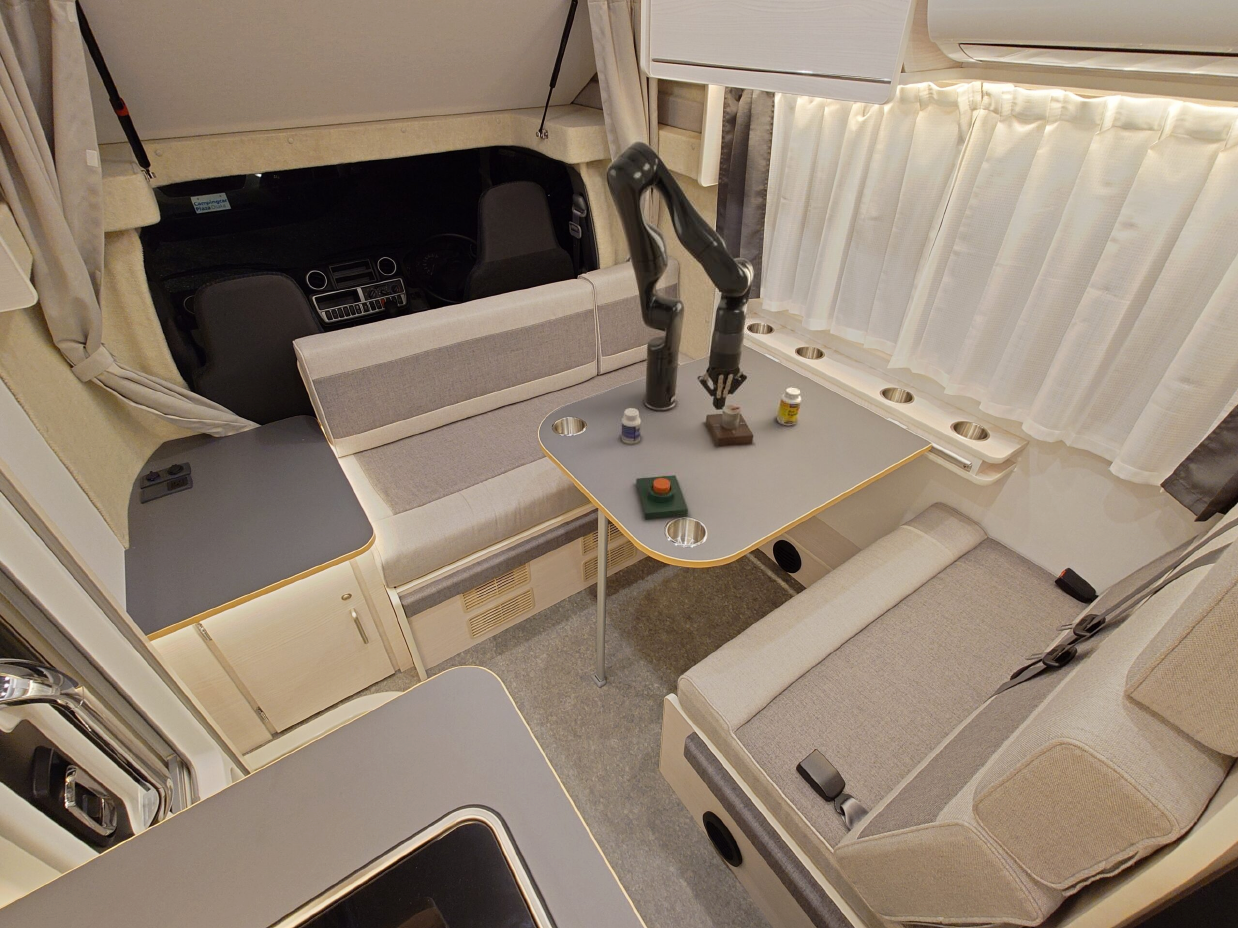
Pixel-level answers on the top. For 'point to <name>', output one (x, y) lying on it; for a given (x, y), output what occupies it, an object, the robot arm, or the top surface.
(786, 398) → the supplement bottle
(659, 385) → the robot arm
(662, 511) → the switch block
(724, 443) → the dial panel
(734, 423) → the dial
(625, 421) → the pill bottle
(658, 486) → the button
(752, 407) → the top surface
